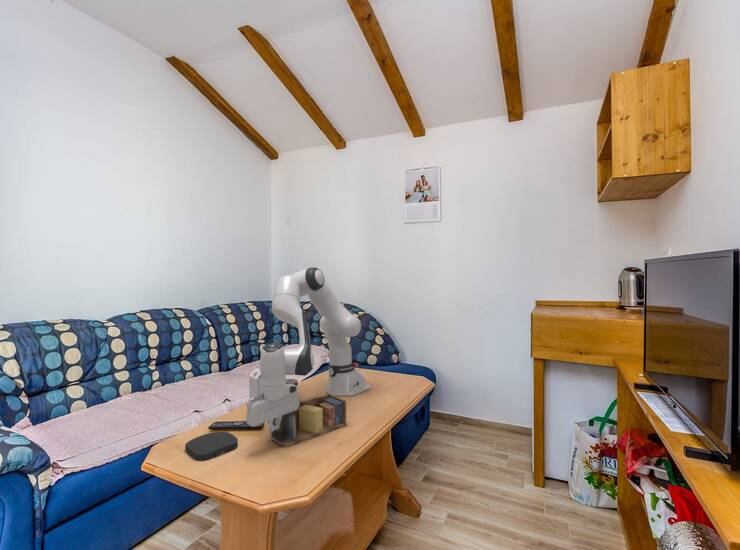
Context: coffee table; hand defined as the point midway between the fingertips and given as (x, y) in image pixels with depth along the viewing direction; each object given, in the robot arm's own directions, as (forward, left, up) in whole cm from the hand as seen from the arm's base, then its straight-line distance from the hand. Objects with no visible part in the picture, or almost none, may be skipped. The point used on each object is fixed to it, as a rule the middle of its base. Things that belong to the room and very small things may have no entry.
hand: (274, 429), depth 131 cm
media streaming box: (+17, -12, -6) cm, 22 cm away
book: (-15, 0, -4) cm, 15 cm away
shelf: (-15, 0, -5) cm, 16 cm away
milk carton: (-11, -34, -5) cm, 36 cm away
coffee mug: (-25, -33, -5) cm, 42 cm away
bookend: (-3, 0, -4) cm, 5 cm away
